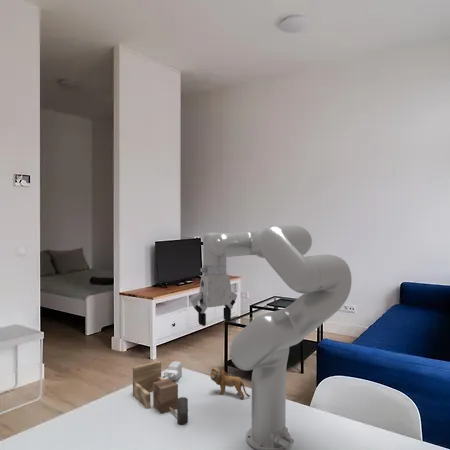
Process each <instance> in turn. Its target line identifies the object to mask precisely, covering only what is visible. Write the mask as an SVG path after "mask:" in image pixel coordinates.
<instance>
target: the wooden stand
mask: <svg viewBox="0 0 450 450" xmlns="http://www.w3.org/2000/svg"><path fill="white" fill-rule="evenodd" d="M165 379H166V378H163V376H162V361H160V360H158V361H157V360H156V361H153V362H152V361H151V362H149V363H145V364H140V365H136V366H132V396H133V397H134V398H135V399H137V400H138V401H139V402H140V404H142V405H143V406H144V407H145V408H146V409H150V408H151V405H152V404H151V392H152V393H153V383H154V382H158V381H161V380H165Z"/></svg>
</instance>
